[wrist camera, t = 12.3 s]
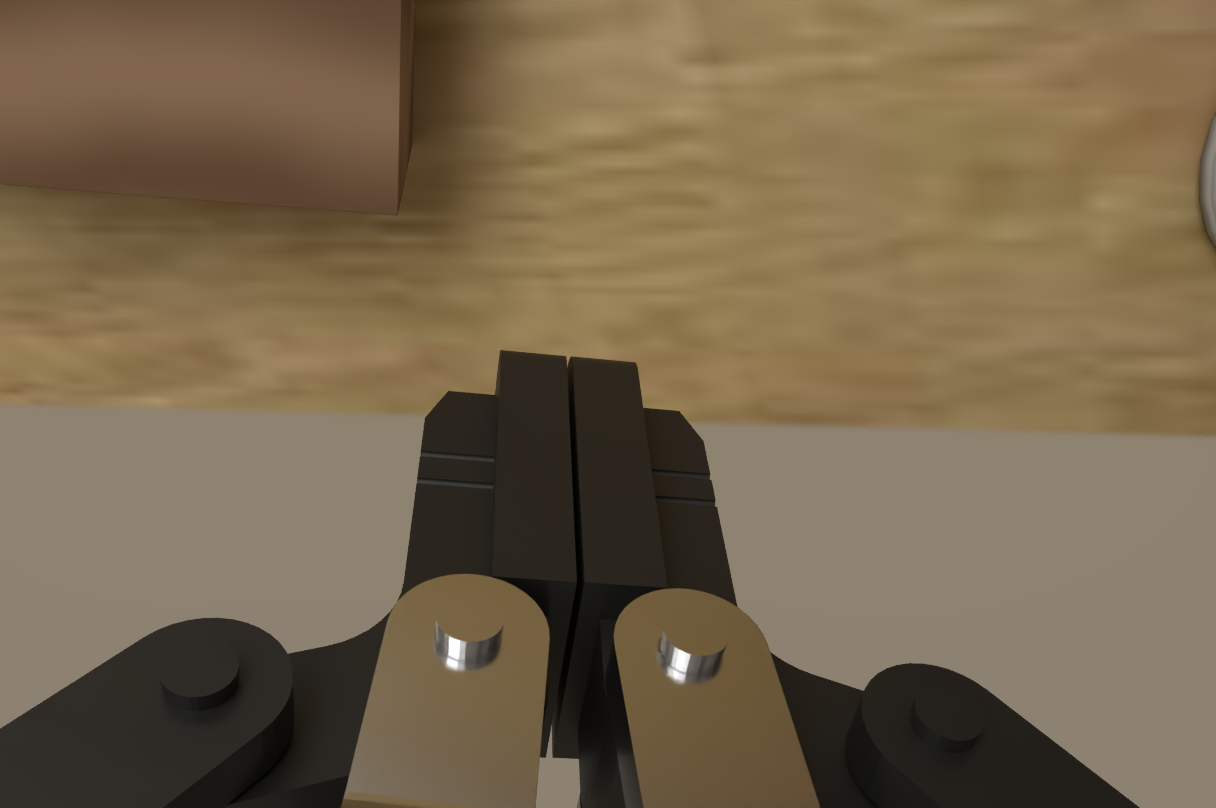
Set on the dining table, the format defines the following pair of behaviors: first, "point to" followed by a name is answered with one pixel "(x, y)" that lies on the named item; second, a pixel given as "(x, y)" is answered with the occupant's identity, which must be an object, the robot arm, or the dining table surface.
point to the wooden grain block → (210, 99)
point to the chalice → (1209, 183)
